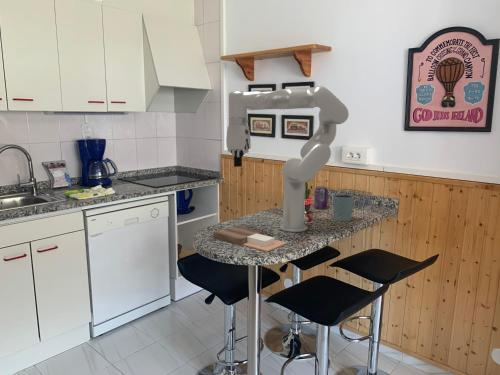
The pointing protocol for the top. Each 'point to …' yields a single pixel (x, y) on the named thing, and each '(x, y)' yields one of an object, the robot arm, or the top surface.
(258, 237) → the tile
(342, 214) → the grey-blue bin
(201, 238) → the top surface
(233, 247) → the top surface
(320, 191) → the beverage can
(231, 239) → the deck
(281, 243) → the mat
